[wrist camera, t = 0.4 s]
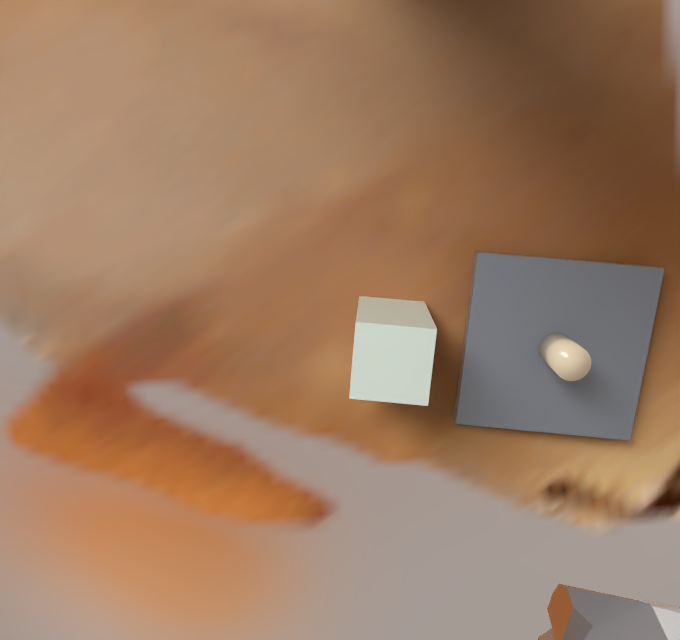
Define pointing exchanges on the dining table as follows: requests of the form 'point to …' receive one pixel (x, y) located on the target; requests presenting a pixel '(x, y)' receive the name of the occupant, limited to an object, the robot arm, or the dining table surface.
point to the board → (543, 310)
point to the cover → (392, 351)
